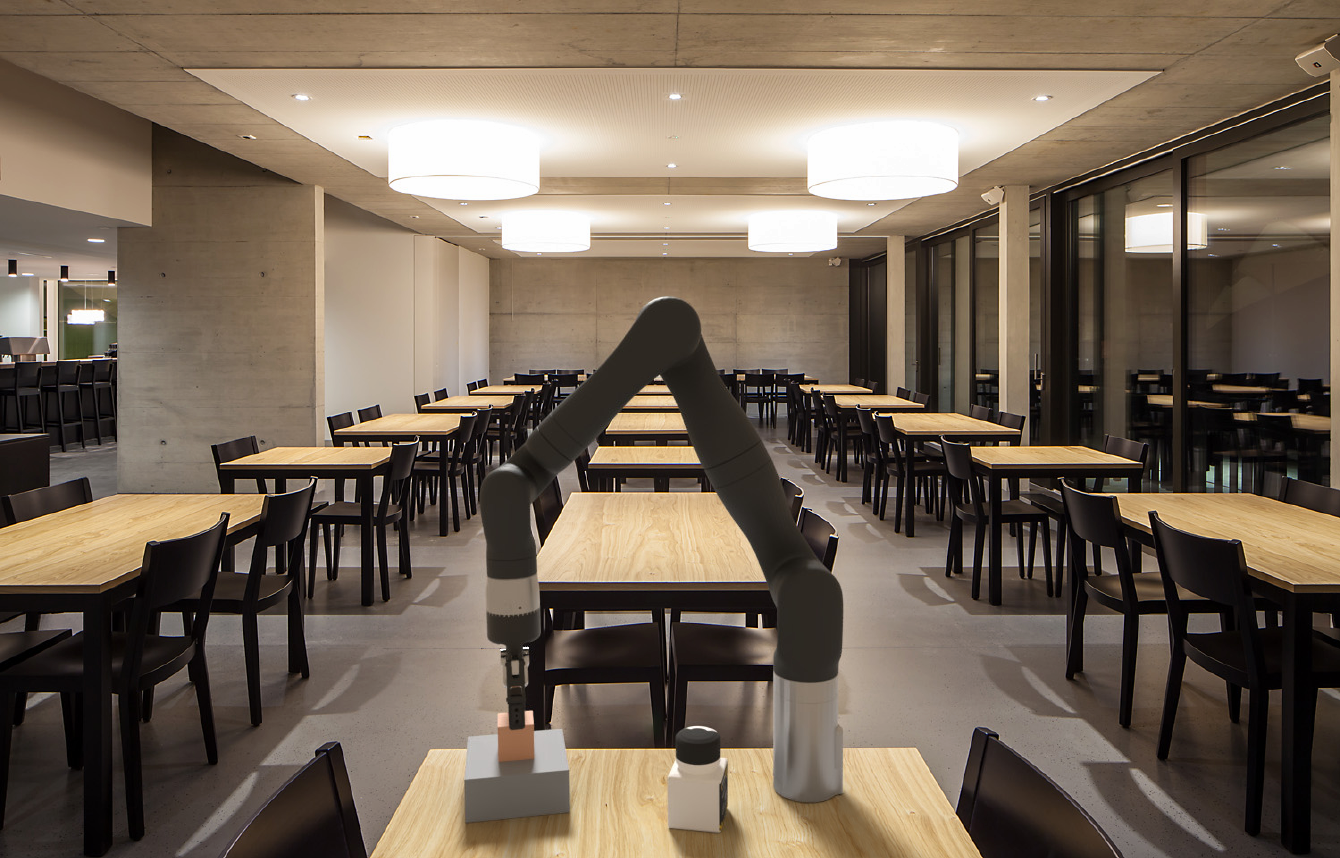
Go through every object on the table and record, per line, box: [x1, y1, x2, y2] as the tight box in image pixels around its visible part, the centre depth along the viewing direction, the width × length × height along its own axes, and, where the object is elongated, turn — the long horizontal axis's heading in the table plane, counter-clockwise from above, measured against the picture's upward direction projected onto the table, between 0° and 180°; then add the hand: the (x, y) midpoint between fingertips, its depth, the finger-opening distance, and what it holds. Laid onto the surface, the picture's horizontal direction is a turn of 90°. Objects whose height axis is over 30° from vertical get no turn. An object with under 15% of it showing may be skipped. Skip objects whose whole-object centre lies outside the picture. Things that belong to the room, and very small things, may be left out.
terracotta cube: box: [497, 710, 535, 762], centre depth 125 cm, size 5×5×5 cm
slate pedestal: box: [463, 728, 571, 824], centre depth 125 cm, size 14×14×6 cm
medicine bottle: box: [667, 725, 729, 834], centre depth 118 cm, size 7×7×12 cm
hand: (516, 716), depth 125 cm, fingers open, 8 cm apart
